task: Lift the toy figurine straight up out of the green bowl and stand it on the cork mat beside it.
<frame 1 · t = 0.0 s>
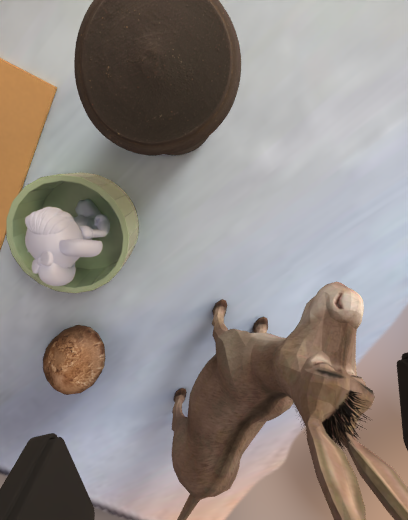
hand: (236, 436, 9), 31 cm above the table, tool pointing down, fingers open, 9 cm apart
green bowl: (88, 224, 39), on the table
container: (175, 116, 36), on the table
toy figurine: (87, 225, 39), resting on green bowl
mushroom: (82, 345, 43), on the table
toy: (221, 350, 44), on the table
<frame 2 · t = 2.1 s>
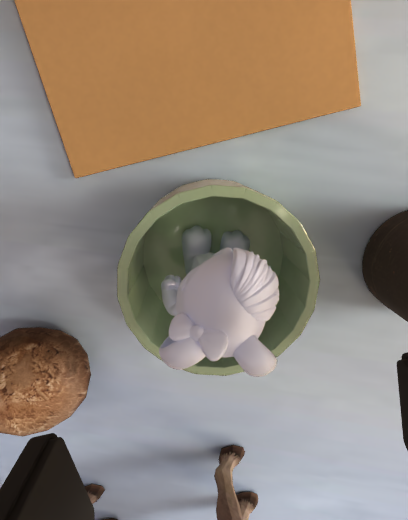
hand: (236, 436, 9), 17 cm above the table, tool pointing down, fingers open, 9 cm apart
green bowl: (213, 257, 26), on the table
toy figurine: (213, 257, 25), resting on green bowl
mat: (193, 46, 21), on the table
mushroom: (50, 355, 28), on the table
toy: (182, 485, 32), on the table
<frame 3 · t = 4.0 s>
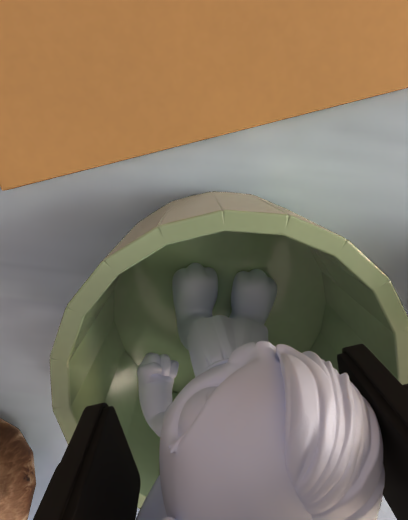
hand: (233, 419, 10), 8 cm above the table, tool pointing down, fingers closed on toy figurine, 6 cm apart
green bowl: (219, 308, 17), on the table
toy figurine: (219, 309, 17), resting on green bowl, touching gripper
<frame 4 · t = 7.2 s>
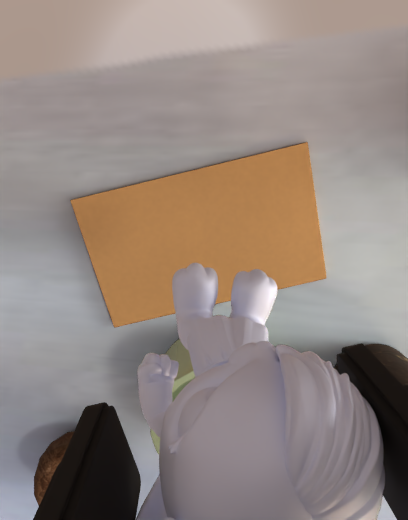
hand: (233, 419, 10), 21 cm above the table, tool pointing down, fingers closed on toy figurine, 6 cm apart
green bowl: (216, 378, 33), on the table
container: (368, 377, 34), on the table
toy figurine: (219, 309, 17), point 13 cm above the table, touching gripper
mat: (204, 240, 29), on the table
mushroom: (88, 448, 35), on the table
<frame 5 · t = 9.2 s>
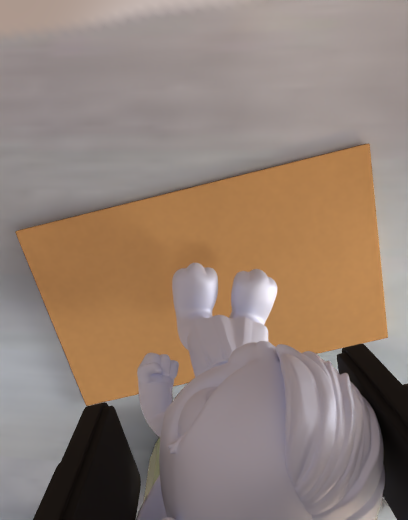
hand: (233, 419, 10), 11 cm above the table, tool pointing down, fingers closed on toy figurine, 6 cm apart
green bowl: (230, 467, 24), on the table
toy figurine: (219, 309, 17), point 4 cm above the table, touching gripper
mat: (213, 285, 20), on the table
when the fingers open (8 cm above the table, at t = 10.6 s): toy figurine stays where it is, resting on mat.
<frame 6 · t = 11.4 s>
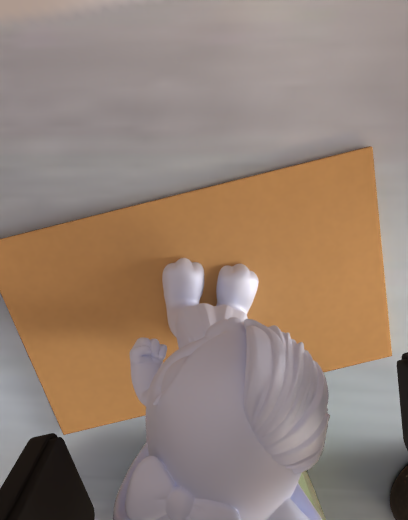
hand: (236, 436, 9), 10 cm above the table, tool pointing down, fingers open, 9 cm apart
green bowl: (222, 497, 22), on the table
toy figurine: (206, 301, 18), resting on mat
mat: (202, 302, 19), on the table
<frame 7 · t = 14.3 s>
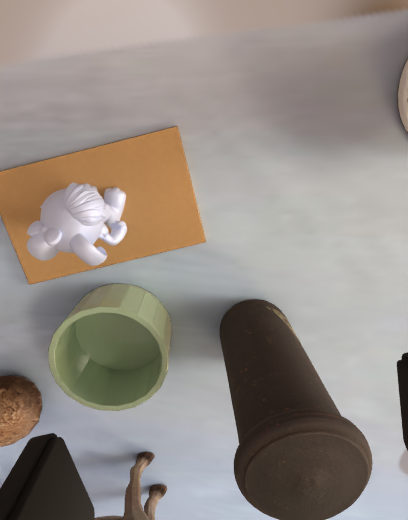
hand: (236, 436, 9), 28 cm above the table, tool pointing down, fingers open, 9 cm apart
green bowl: (122, 330, 39), on the table
container: (253, 329, 40), on the table
toy figurine: (101, 208, 35), resting on mat
mat: (100, 209, 35), on the table
mushroom: (17, 392, 41), on the table
toy: (113, 480, 46), on the table
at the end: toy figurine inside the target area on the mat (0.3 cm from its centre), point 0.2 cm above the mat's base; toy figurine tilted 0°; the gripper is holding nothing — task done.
